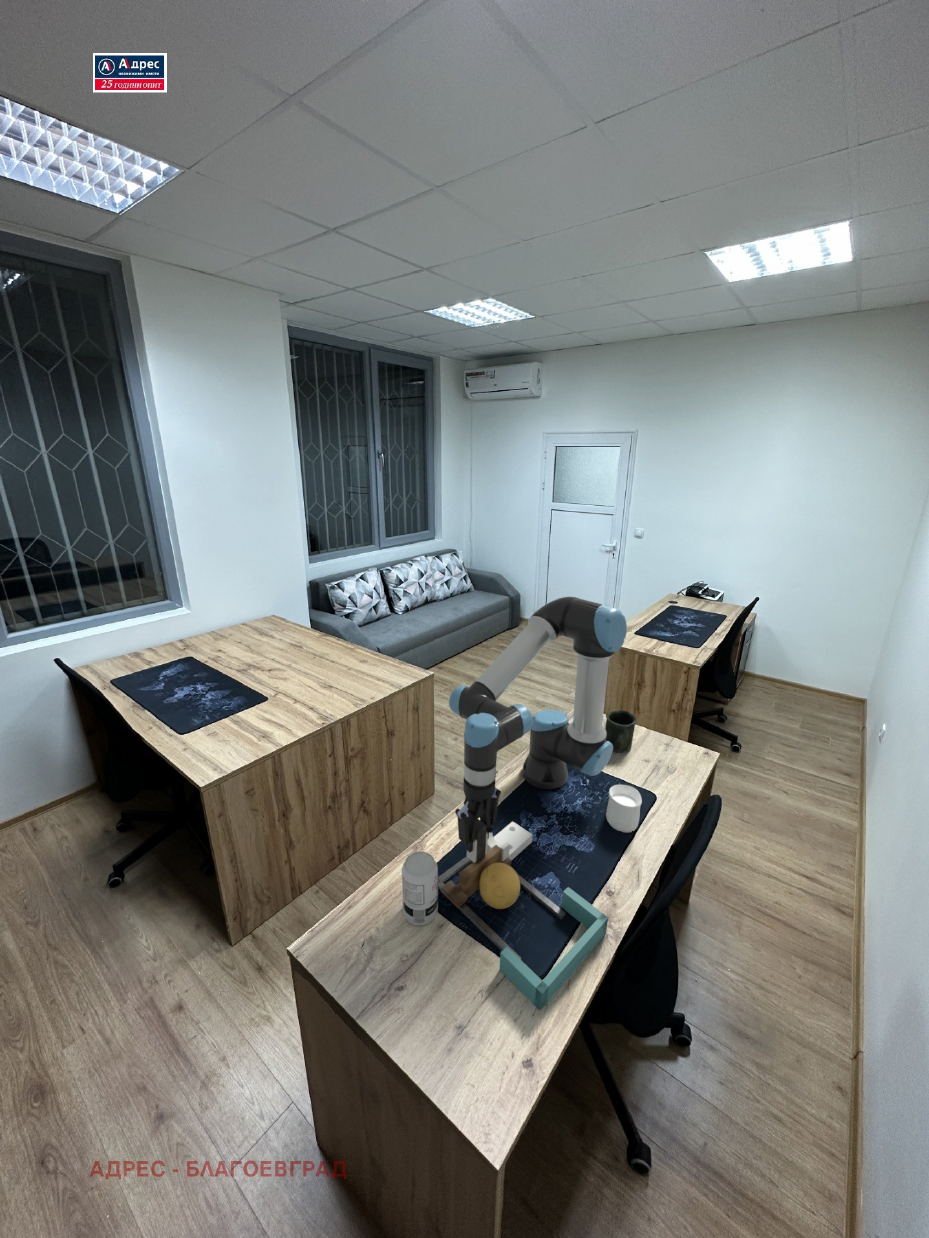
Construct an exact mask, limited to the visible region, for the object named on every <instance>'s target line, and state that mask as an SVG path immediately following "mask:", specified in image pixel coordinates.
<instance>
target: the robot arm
mask: <svg viewBox="0 0 929 1238" xmlns="http://www.w3.org/2000/svg"><path fill="white" fill-rule="evenodd" d="M627 630H628V626H627V620H626V617H625V615H624V614H623V612H622V611H621V610H620V609H618V608H615V607H612V606H610V605H609V604H602V603H598V602H595V601H591V600H586V599H583V598H579V597H576V596H563V597H559V598H556V599H554V600H551V601H549V602H547V603H545V604H544V605H543V606H541V607H540V608H538V609H537V610H536V611H535V612H534V613H533V614H532V615H531V616H530V617H529V618H528V619H527V626H526V627H525V628H524V629H522V631H521V632H520V633H519V634H517V636H516V637H515V638H514V639H513V640H512V641H511V642H510V644H509V645H508V646H507V647H505V649H504V650H503V651H502V652H501V653H500V654H499V655H498V656H497V657H496V658H495V659H494V661H492V662H491V664H490V665H489V666H488V667H487V668H486V669H485V670H484V671H483V672H482V673H481V674H480V675H479V676H478V678H476V680H475V681H474V682H473V683H472V684H471V685H470V686H466V685H460V686H457V687H455V688H454V689H453V690H452V692H451V693H450V696H449V698H448V705H449V708H450V710H451V711H452V712H453V713H455V714H456V715H457V716H459V717H460V718H462V719H464V720H465V722H464V723H465V724H464V733H463V750H464V751H463V756H464V757H463V782H462V783H463V785H462V787H463V789H462V790H463V793H464V801H463V806H462V807H461V808H456V809H455V810H454V811H455V815H456V818H457V829H458V839H459V841H461V842H462V843H463V844H464V845H465V846H464V848H465V850H466V856H467V857H468V858H469V859H470V860H471V861H472V862H474V863H475V862H476V858H477V840H476V839H475V835H476V828H477V822H478V819H479V820H480V821H481V822H483V823H484V824H485V825H486V826H487V828H486V852H485V854H487V842H488V838H489V833H492V834H493V832H494V831H493V830H494V829H493V828H492V826H495V825H496V823H497V815H498V808H499V799H500V796H501V794H502V791H501V790H500V789H499V788H497V787H496V778H497V761H498V759H497V756H498V752H499V751H500V750H502V749H503V748H505V747H507V746H508V745H510V744H512V743H513V742H516V741H517V740H519V739H521V738H523V737H524V736H525V735H526V734H527V733H529V732H530V733H529V734H530V737H529V750H528V754H527V756H526V757H525V759H524V763H523V765H522V770H521V771H522V777H523V779H524V780H525V781H526V782H527V783H528V784H530V785H531V786H533V787H535V788H537V789H542V790H555V789H560V788H561V787H563V786H565V784H566V783H567V781H568V776H569V775H568V774H569V771H568V767H567V765H569V766H570V767H572V768H574V769H576V770H578V771H579V772H581V773H584V774H586V775H588V776H591V777H594V776H597V775H599V774H600V773H601V772H603V770H604V769H605V767H606V766H607V765H608V763H609V761H610V759H611V757H612V754H613V752H614V751H613V745H612V744H611V743H610V742H609V741H606V734H607V733H606V730H605V727H604V726H603V720H604V710H605V701H606V692H607V691H606V690H607V684H608V683H607V682H608V672H609V663H610V658H612V657H613V656H614V655H615V654H616V652H617V651H619V650H620V649H621V648H622V647H623V645H624V643H625V639H626V637H627V632H628V631H627ZM559 637H565V638H568V639H571V640H573V643H572V644H573V646H572V650H573V652H575V654H576V655H577V663H576V675H575V677H576V678H575V688H574V690H575V691H574V701H573V702H574V703H573V717H572V722H569V717H568V715H567V714H566V713H565V712H564V711H560V710H555V709H546V710H545V709H544V710H542V711H539V712H536V713H535V714H534V715H532V713H531V711H530V710H529V708H528V707H526V706H525V705H524V704H521V703H515V704H511V705H510V706H506V705H504V704H503V703H500V702H498V701H497V700H498V699H499V698H500V697H501V695H502V694H503V693H504V692H506V691H507V689H508V688H509V687H510V686H511V684H513V682H514V681H515V680H516V679H517V678H518V677H519V676H520V674H521V673H522V672H523V671H524V670H525V669H526V668H527V667H528V666H529V664H530V663H531V662H532V661H533V659H534V658H536V657H537V656H538V654H539V653H540V652H541V651H542V650H543V649H544V648H545V646H547V644H548V643H549V644H551V643H554V642H555V640H557V638H559Z"/></svg>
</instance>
